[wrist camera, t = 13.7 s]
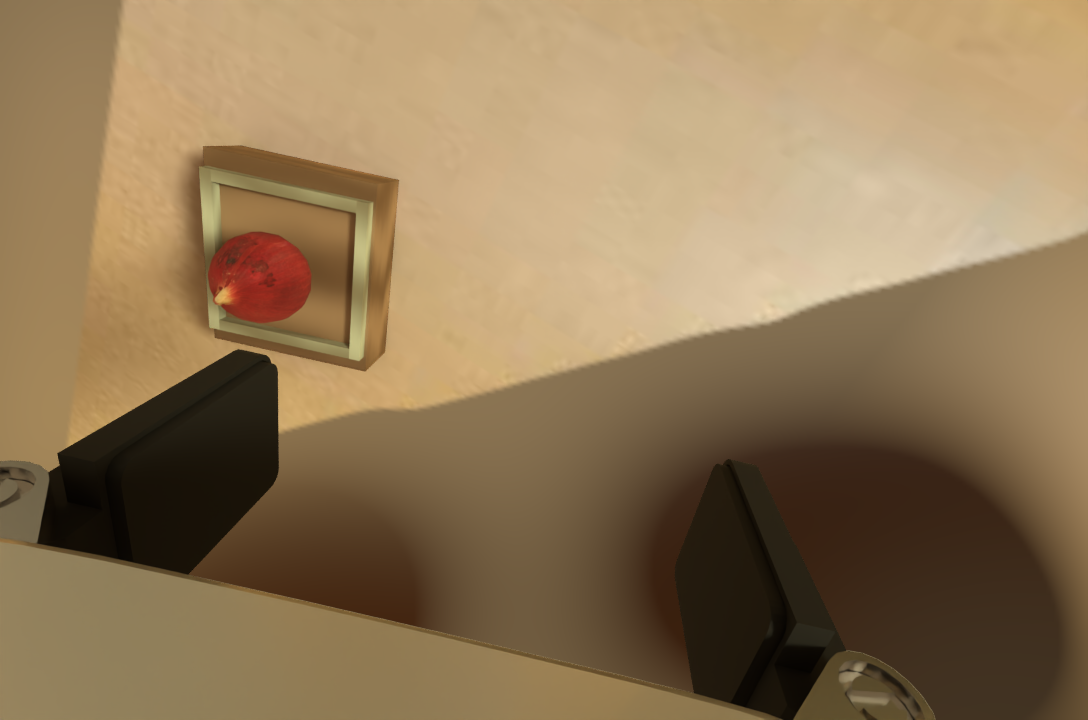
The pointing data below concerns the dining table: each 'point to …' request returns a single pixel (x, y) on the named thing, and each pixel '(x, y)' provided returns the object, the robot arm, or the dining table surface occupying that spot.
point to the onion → (259, 277)
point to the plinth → (307, 248)
